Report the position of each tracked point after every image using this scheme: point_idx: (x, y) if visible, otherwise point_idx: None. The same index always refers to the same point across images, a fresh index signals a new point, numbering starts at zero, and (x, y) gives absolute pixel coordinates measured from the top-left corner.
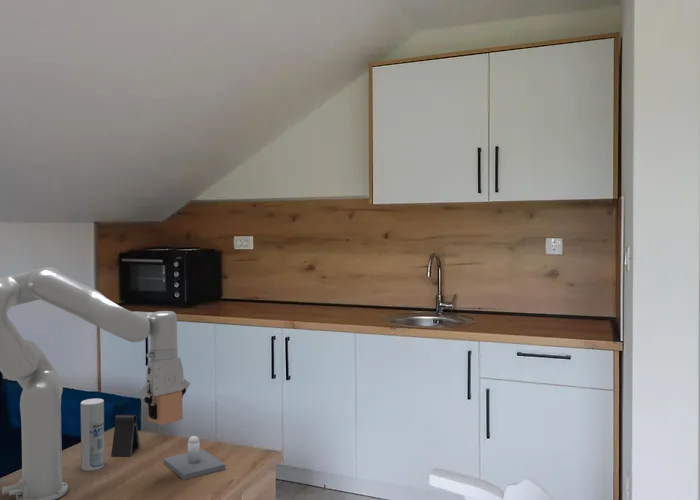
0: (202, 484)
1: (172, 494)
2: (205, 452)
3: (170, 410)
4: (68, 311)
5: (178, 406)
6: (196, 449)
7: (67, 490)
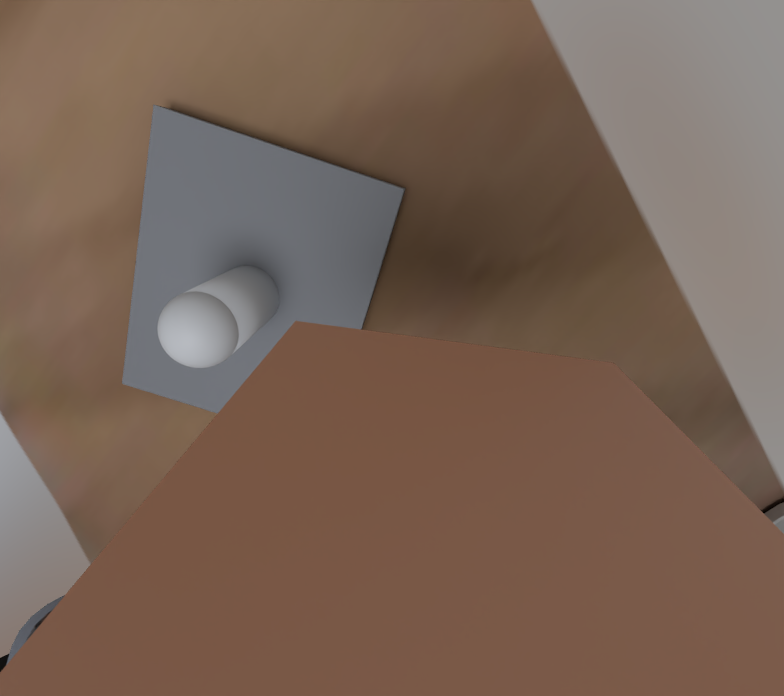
0: (384, 42)
1: (571, 77)
2: (137, 339)
3: (496, 422)
4: None
5: (312, 420)
6: (222, 282)
7: (774, 510)
